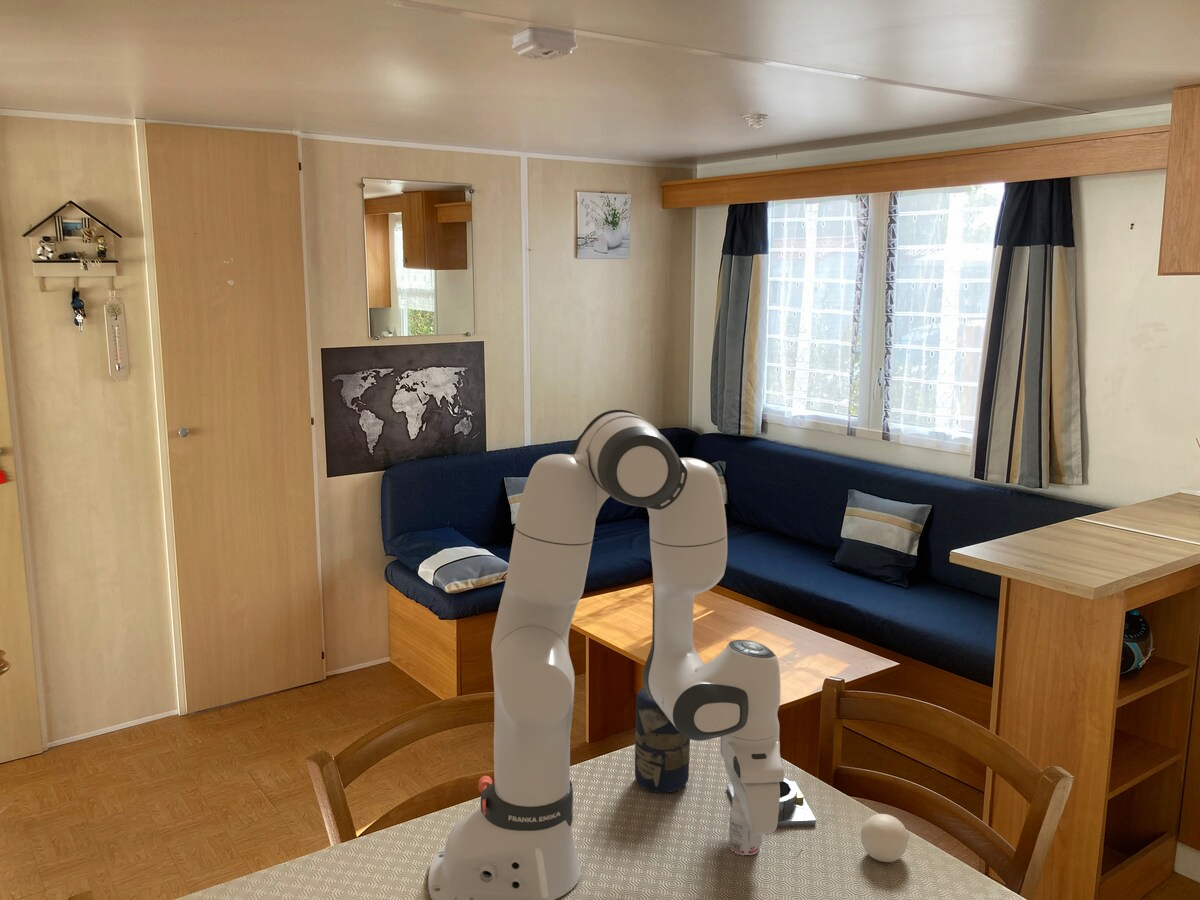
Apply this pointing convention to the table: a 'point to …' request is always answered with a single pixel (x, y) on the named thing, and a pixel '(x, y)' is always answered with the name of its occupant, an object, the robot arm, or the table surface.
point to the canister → (659, 749)
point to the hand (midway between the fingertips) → (747, 826)
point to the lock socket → (790, 806)
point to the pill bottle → (739, 831)
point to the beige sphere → (884, 837)
